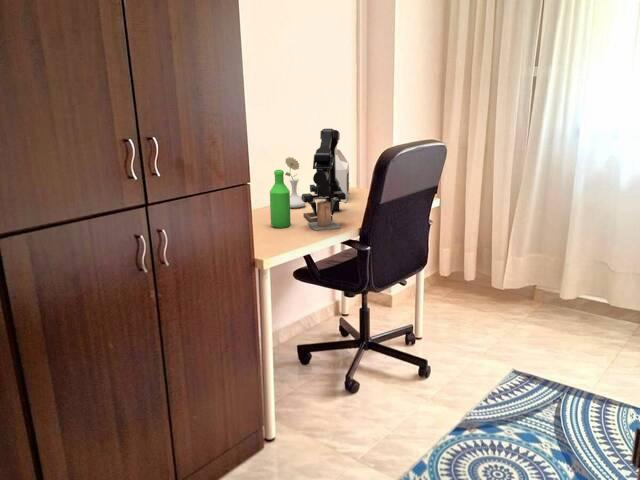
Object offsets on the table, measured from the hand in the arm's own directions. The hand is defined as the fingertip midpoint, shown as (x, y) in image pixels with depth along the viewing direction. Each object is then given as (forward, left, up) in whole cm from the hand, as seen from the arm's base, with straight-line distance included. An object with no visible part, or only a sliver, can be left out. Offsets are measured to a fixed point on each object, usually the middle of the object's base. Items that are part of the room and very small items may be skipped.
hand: (323, 215), depth 249 cm
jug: (0, 0, -4) cm, 4 cm away
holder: (-1, -14, -5) cm, 15 cm away
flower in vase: (+4, -42, -5) cm, 42 cm away
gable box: (-21, -53, -5) cm, 57 cm away
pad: (0, 0, -5) cm, 5 cm away
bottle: (+18, -7, -5) cm, 20 cm away
